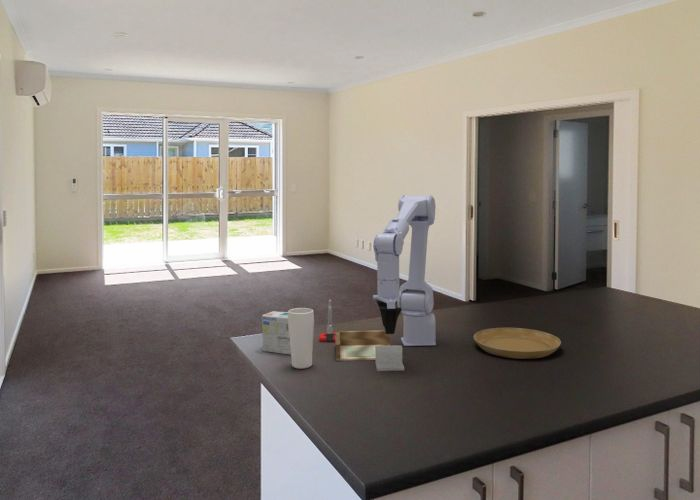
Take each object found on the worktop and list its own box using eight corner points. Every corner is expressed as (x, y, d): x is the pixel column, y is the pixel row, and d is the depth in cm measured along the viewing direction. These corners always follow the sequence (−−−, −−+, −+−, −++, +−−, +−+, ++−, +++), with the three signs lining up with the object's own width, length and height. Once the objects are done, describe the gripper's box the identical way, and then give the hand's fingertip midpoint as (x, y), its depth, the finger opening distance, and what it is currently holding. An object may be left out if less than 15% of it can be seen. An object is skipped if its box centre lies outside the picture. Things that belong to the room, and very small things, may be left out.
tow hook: (322, 335, 184) (315, 342, 175) (321, 295, 183) (315, 300, 174) (347, 336, 183) (343, 343, 173) (347, 296, 182) (343, 300, 173)
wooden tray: (389, 343, 170) (389, 330, 170) (394, 357, 156) (394, 343, 156) (335, 344, 170) (335, 331, 169) (336, 358, 156) (335, 344, 155)
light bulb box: (305, 349, 167) (305, 313, 166) (294, 355, 161) (293, 318, 160) (274, 345, 172) (273, 310, 170) (262, 351, 165) (260, 314, 164)
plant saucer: (567, 364, 151) (567, 352, 151) (473, 359, 156) (474, 348, 156) (553, 339, 175) (554, 329, 174) (473, 336, 179) (473, 326, 179)
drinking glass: (318, 363, 154) (317, 308, 152) (308, 371, 147) (307, 314, 146) (295, 361, 156) (294, 307, 154) (284, 368, 149) (283, 312, 148)
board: (389, 345, 170) (389, 343, 170) (394, 359, 156) (394, 357, 156) (335, 346, 170) (335, 344, 170) (336, 360, 156) (336, 358, 156)
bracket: (401, 363, 153) (401, 345, 153) (404, 370, 147) (404, 351, 147) (375, 364, 153) (375, 345, 152) (377, 371, 147) (377, 352, 146)
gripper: (371, 274, 157) (371, 323, 158) (375, 284, 142) (375, 337, 144) (396, 274, 157) (397, 322, 158) (403, 283, 142) (403, 336, 144)
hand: (388, 329), depth 151 cm, fingers open, 7 cm apart
